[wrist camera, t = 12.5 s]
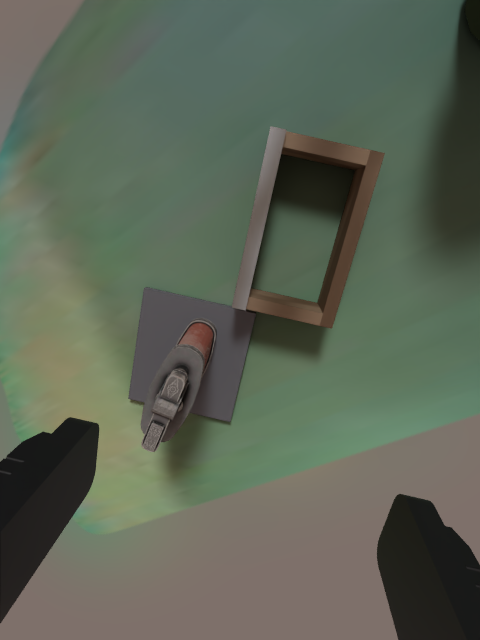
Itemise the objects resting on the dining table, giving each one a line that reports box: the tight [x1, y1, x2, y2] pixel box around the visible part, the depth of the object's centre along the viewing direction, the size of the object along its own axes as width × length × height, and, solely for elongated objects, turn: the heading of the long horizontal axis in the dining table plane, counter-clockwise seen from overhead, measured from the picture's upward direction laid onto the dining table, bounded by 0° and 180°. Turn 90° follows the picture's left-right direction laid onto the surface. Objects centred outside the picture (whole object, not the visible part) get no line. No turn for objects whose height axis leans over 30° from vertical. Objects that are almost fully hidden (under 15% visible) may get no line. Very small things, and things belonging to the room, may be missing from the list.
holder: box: [232, 127, 385, 328], centre depth 29 cm, size 8×13×4 cm, turn 168°
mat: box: [128, 287, 256, 422], centre depth 35 cm, size 10×11×1 cm
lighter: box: [141, 318, 217, 452], centre depth 30 cm, size 8×3×10 cm, turn 157°
